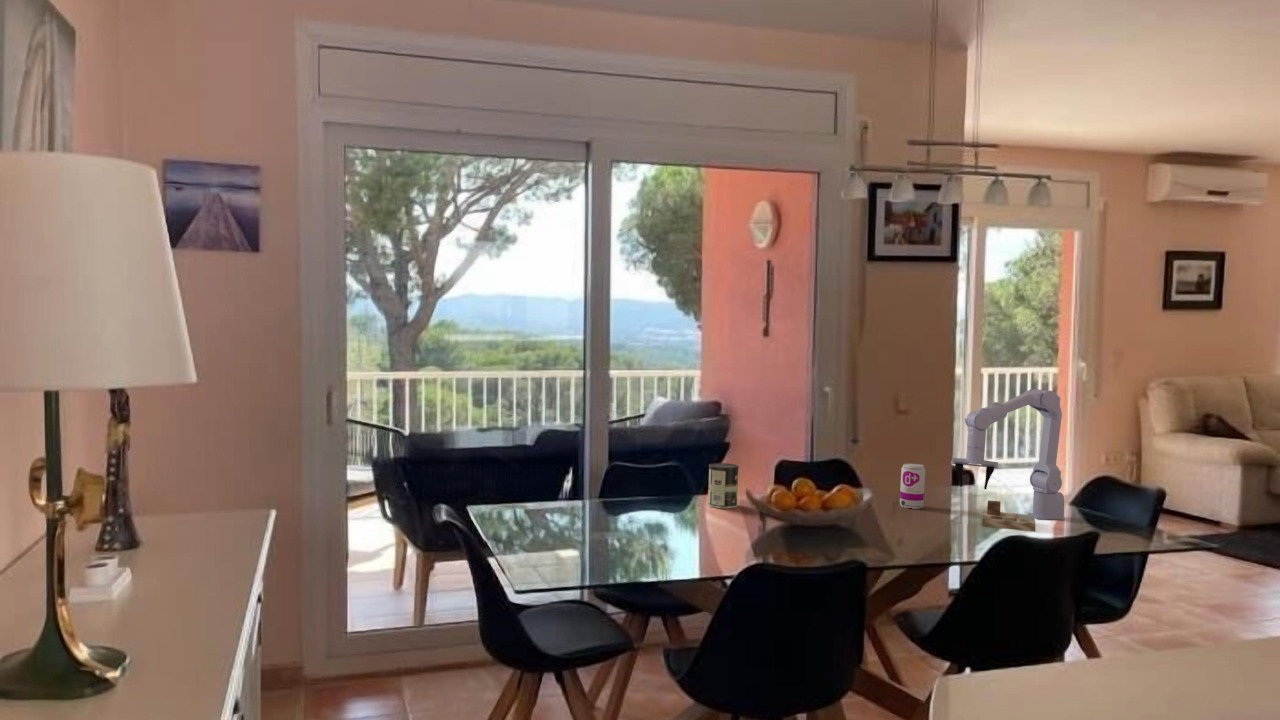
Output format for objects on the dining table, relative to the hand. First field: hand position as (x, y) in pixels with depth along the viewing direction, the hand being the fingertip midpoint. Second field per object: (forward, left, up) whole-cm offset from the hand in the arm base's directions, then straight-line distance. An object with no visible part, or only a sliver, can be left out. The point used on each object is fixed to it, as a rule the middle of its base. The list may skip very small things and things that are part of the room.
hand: (973, 487), depth 320 cm
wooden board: (-9, +7, -11) cm, 16 cm away
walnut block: (-6, +3, -8) cm, 11 cm away
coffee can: (+83, -12, -11) cm, 84 cm away
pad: (-16, +7, -11) cm, 20 cm away
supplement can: (+15, -17, -11) cm, 25 cm away
